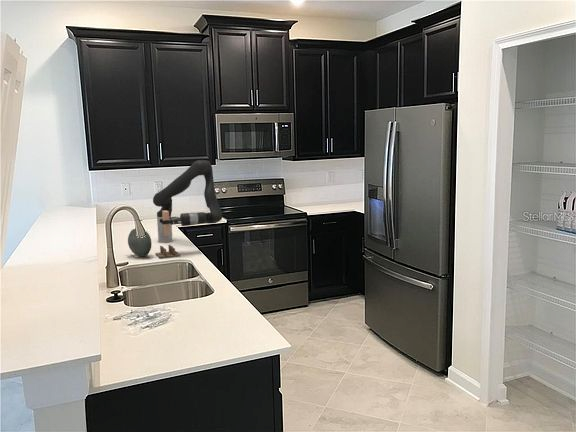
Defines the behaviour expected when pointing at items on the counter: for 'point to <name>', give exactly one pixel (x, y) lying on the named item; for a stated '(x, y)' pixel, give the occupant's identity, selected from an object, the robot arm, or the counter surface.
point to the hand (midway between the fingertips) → (160, 221)
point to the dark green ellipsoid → (139, 244)
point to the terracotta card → (166, 226)
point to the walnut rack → (168, 254)
